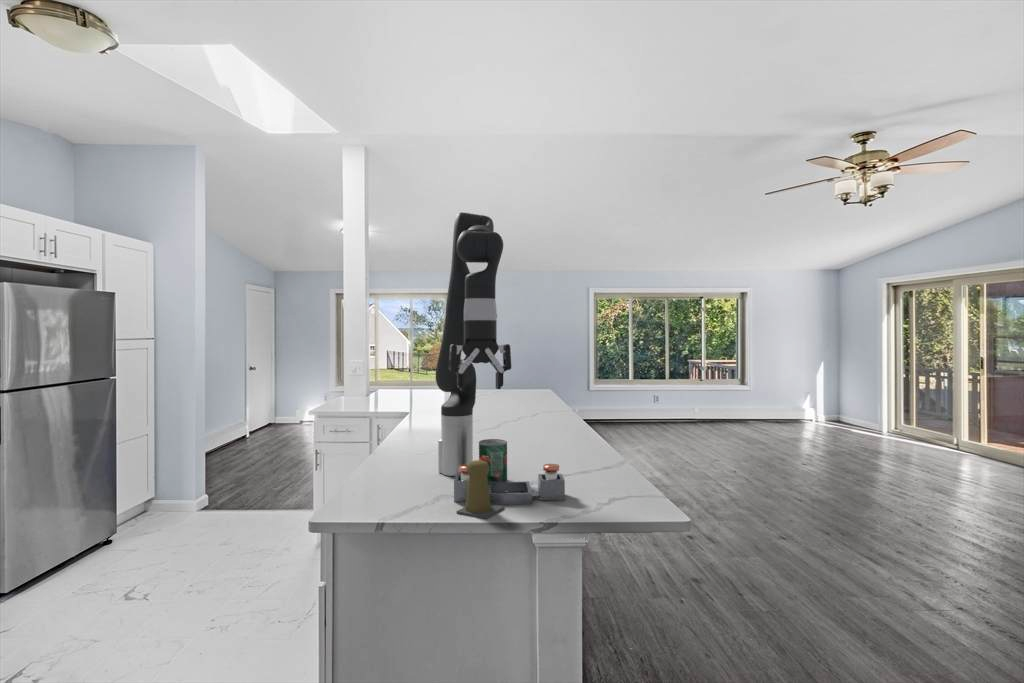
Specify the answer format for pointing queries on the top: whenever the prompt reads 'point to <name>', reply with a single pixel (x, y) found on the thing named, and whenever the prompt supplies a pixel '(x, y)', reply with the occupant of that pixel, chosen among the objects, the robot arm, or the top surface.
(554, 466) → the plunger
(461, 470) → the plunger
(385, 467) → the top surface
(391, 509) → the top surface
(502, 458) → the canned tomato
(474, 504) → the cork
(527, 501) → the housing
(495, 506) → the pad
